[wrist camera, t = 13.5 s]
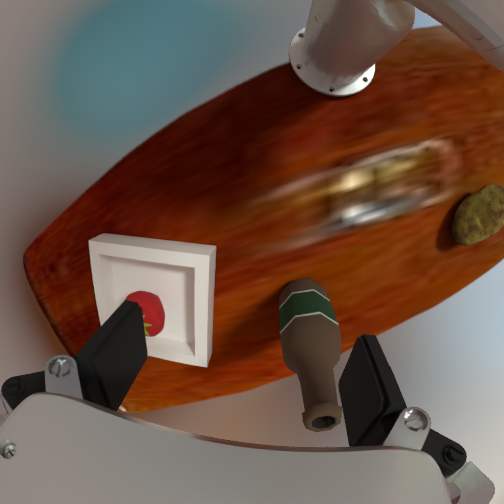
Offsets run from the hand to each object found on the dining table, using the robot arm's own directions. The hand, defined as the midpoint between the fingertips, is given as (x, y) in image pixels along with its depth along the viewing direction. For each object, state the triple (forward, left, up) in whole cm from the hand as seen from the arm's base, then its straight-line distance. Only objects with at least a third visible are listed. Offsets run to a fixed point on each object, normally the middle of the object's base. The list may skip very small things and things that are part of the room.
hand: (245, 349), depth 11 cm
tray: (+15, -17, -29) cm, 37 cm away
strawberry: (+15, -16, -29) cm, 36 cm away
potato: (-7, +35, -30) cm, 46 cm away
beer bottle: (+12, +7, -30) cm, 33 cm away
